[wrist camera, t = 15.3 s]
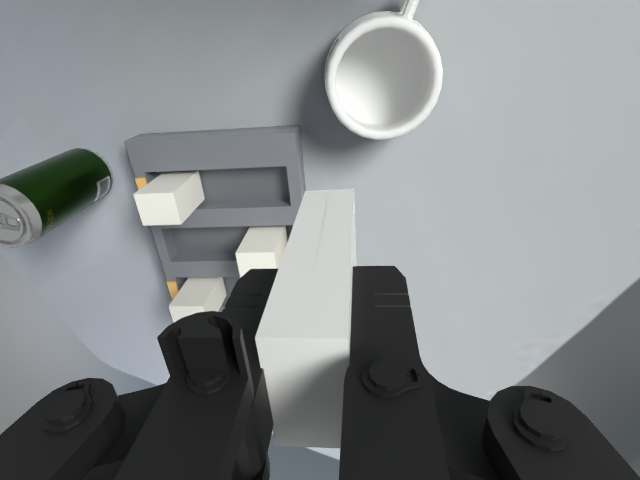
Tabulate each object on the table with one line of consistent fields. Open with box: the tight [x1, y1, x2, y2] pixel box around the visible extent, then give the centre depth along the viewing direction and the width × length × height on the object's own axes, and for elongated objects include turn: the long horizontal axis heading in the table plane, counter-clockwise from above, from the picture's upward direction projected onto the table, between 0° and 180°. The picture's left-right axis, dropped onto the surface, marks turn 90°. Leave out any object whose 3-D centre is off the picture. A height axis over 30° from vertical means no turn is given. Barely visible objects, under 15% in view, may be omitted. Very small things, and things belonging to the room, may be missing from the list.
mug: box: [324, 0, 443, 140], centre depth 31 cm, size 12×10×6 cm
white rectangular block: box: [133, 171, 205, 226], centre depth 37 cm, size 3×4×6 cm
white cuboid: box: [235, 225, 288, 278], centre depth 39 cm, size 3×4×6 cm
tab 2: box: [168, 277, 226, 322], centre depth 42 cm, size 3×4×6 cm
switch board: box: [125, 125, 306, 312], centre depth 42 cm, size 22×16×3 cm
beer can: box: [0, 148, 113, 247], centre depth 36 cm, size 5×5×12 cm
